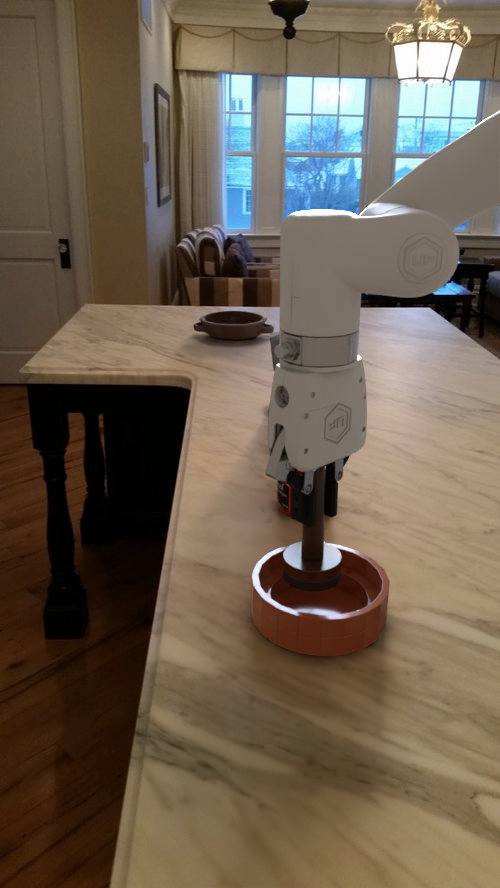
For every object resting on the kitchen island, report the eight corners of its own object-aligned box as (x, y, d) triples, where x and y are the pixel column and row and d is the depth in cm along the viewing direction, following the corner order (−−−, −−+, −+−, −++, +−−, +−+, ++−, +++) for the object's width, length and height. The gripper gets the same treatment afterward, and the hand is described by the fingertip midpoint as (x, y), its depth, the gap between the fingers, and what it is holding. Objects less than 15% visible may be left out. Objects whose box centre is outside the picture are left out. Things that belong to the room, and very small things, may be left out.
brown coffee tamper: (311, 553, 81) (313, 449, 76) (353, 576, 77) (359, 467, 72) (270, 574, 77) (270, 466, 72) (312, 599, 73) (315, 486, 68)
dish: (197, 326, 202) (196, 309, 200) (274, 328, 201) (274, 310, 199) (190, 342, 186) (189, 323, 184) (273, 343, 185) (273, 325, 183)
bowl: (316, 565, 87) (318, 529, 85) (413, 620, 77) (417, 582, 75) (224, 611, 78) (224, 573, 76) (320, 681, 68) (322, 639, 66)
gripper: (284, 372, 60) (282, 558, 67) (402, 339, 69) (390, 505, 76) (228, 354, 65) (232, 529, 72) (345, 326, 75) (338, 483, 82)
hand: (313, 515), depth 74 cm, fingers closed on brown coffee tamper, 2 cm apart
